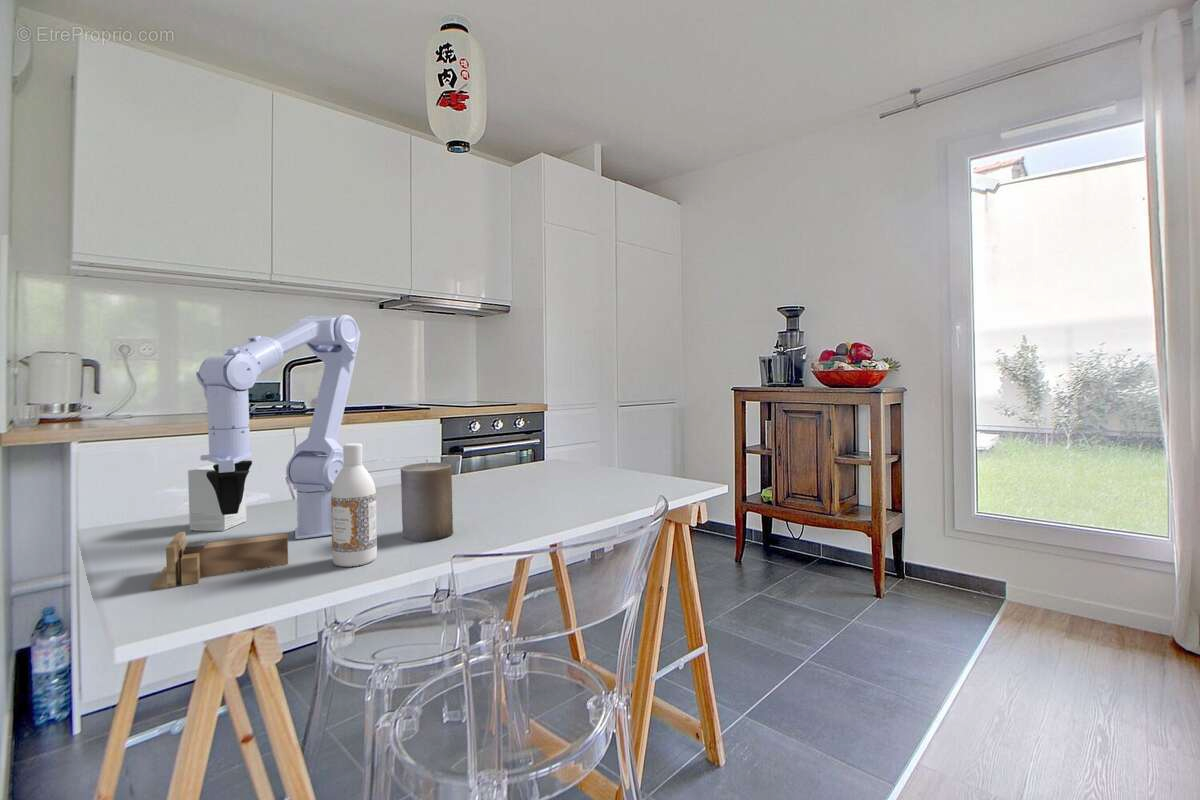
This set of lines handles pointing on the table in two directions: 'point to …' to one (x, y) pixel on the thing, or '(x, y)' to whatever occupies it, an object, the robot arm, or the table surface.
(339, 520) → the bath foam
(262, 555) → the brown wooden block
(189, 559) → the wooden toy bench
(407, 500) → the pillar candle
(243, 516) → the supplement box
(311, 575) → the table surface
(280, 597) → the table surface
